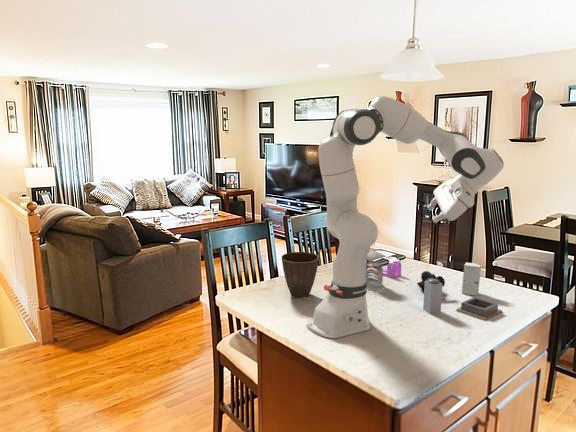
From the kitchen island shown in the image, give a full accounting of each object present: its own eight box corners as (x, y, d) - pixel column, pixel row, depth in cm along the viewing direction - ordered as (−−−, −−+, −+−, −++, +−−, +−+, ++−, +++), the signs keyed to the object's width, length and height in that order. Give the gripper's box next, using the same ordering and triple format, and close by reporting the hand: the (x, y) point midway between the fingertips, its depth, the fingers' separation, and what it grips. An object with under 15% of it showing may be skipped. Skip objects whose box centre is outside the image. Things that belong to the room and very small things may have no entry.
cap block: (440, 312, 160) (442, 281, 157) (429, 314, 158) (431, 282, 156) (433, 308, 164) (435, 277, 162) (423, 309, 163) (424, 278, 160)
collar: (485, 320, 152) (485, 312, 152) (456, 310, 161) (456, 302, 160) (502, 311, 160) (502, 303, 159) (473, 303, 168) (474, 295, 168)
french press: (385, 290, 182) (387, 231, 177) (357, 289, 184) (358, 231, 179) (384, 283, 192) (386, 226, 187) (357, 281, 193) (358, 226, 189)
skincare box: (461, 293, 178) (463, 264, 176) (463, 290, 182) (465, 262, 180) (477, 296, 175) (480, 267, 173) (479, 292, 179) (481, 264, 177)
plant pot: (326, 295, 177) (326, 257, 174) (297, 304, 168) (297, 264, 165) (302, 286, 188) (302, 250, 186) (274, 294, 179) (273, 256, 176)
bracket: (400, 276, 201) (401, 261, 200) (393, 278, 197) (394, 263, 196) (377, 269, 211) (378, 255, 209) (370, 272, 207) (370, 258, 206)
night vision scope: (423, 289, 191) (442, 275, 188) (431, 305, 173) (453, 290, 171) (412, 275, 190) (431, 261, 188) (419, 290, 173) (440, 275, 171)
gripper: (448, 171, 162) (420, 197, 168) (462, 195, 144) (430, 223, 150) (460, 182, 163) (431, 206, 169) (475, 207, 145) (443, 233, 151)
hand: (431, 214), depth 159 cm, fingers open, 8 cm apart
